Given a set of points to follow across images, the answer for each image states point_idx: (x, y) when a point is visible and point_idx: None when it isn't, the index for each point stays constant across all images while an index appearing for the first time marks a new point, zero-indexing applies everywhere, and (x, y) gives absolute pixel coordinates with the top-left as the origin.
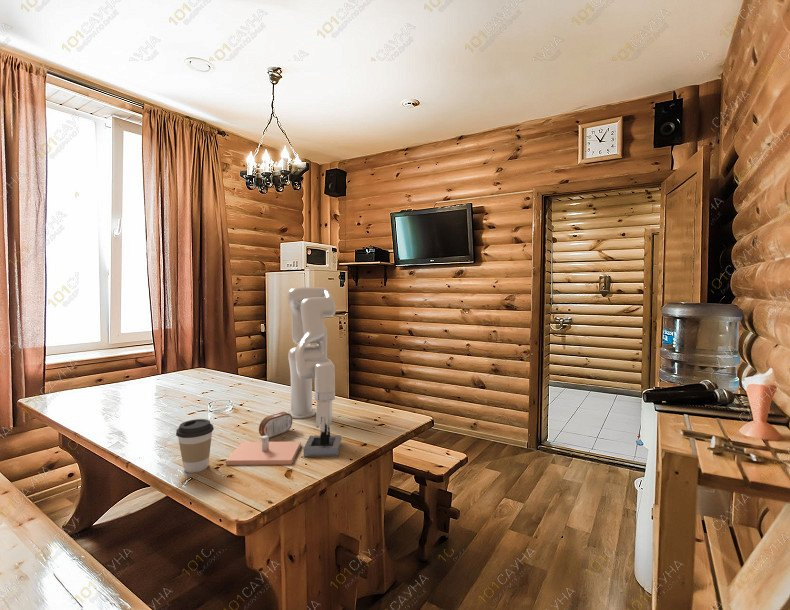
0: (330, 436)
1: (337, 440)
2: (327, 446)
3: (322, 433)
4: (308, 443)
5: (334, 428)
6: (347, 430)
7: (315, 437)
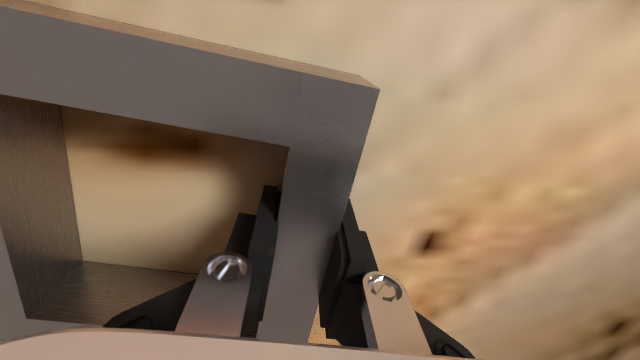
0: (292, 304)
1: None
2: (3, 277)
3: (171, 296)
4: (68, 60)
5: (611, 284)
6: (519, 350)
7: (293, 162)
